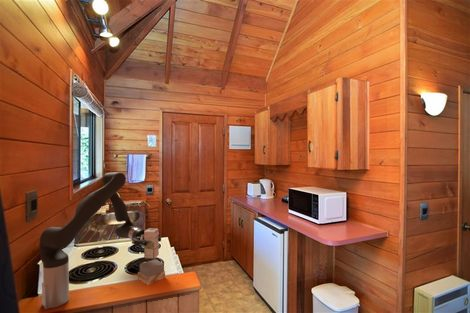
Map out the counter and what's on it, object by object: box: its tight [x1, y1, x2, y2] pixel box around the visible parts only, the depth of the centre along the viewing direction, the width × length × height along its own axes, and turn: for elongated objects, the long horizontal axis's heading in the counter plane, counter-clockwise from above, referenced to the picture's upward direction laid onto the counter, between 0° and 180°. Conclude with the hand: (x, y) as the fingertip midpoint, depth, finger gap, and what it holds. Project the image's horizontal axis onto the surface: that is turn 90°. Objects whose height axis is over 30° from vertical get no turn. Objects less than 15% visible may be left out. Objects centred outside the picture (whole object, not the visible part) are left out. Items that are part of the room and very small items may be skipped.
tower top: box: [139, 258, 165, 277], centre depth 131 cm, size 9×9×4 cm
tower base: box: [137, 270, 166, 286], centre depth 131 cm, size 10×10×4 cm
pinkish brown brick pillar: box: [143, 228, 160, 260], centre depth 131 cm, size 6×6×14 cm
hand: (153, 241), depth 129 cm, fingers closed on pinkish brown brick pillar, 7 cm apart
